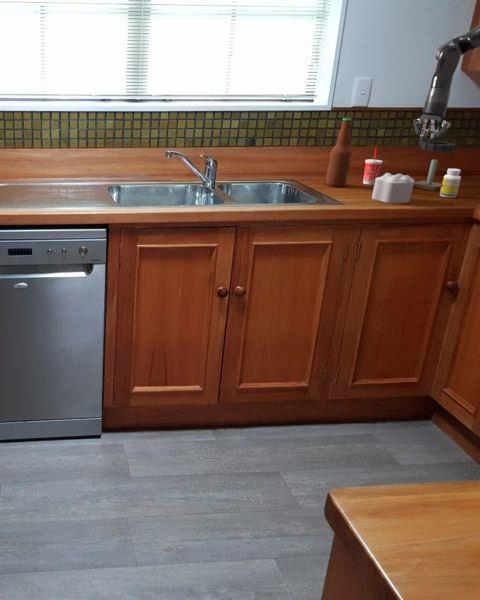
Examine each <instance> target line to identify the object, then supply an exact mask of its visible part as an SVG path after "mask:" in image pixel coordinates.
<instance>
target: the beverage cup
mask: <svg viewBox="0 0 480 600" xmlns="http://www.w3.org/2000/svg"><path fill="white" fill-rule="evenodd" d="M377 151H378V147H375V151H374V156H373V159H372V158H371V159H370V158H368V159H365V161H364V163H365V165H364V173H363V181H362V184H364V185H368V186H369V185H370V186H374V185H375V180H376V178H377V177H379V174H380V170H381V167H382V164H383V162H384V161H383V160H380V159H376V157H377Z"/></svg>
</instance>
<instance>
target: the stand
mask: <svg viewBox="0 0 480 600" xmlns="http://www.w3.org/2000/svg"><path fill="white" fill-rule="evenodd" d="M438 162H439V161H438V159H431V162H430V166H429V170H428V173H427V178H426V180H425V179H423V180H419V181H414V185H413V186H414V187H413V188H416V187H418V188H417V189H421V188H423V189H422V190H426V189H427V191H433V192H435V191H440V190H441V186H442V182H441V183H440V182H436V181H435V182H434V178H435V174H436V169H437V166H438Z"/></svg>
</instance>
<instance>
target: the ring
mask: <svg viewBox="0 0 480 600" xmlns="http://www.w3.org/2000/svg"><path fill="white" fill-rule="evenodd" d="M456 147H457V144H456V143H453V142H448V141H439V140H435V144H433V143H429V140H426V141H422V143H421V147H420V150H423V151H428V152H438V153H453V152H456V149H457V148H456Z"/></svg>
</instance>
